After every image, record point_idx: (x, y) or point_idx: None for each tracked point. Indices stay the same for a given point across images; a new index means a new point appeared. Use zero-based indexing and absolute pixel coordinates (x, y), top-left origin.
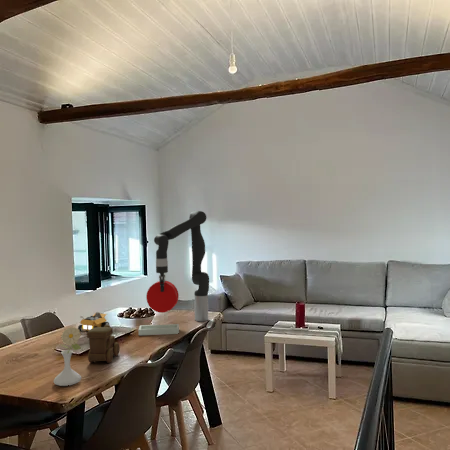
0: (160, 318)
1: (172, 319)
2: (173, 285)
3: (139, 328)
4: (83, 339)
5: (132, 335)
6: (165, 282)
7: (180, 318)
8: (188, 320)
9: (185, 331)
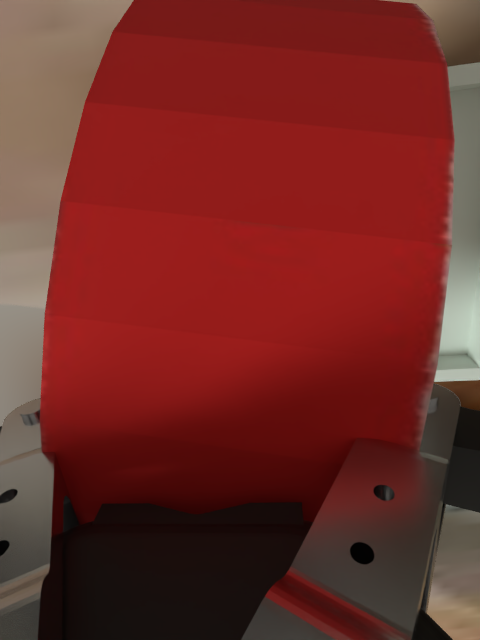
0: (30, 276)
1: (46, 182)
2: (198, 68)
3: (458, 377)
4: (470, 576)
5: (461, 392)
6: (400, 404)
7: (4, 116)
8: (61, 25)
9: (452, 8)
